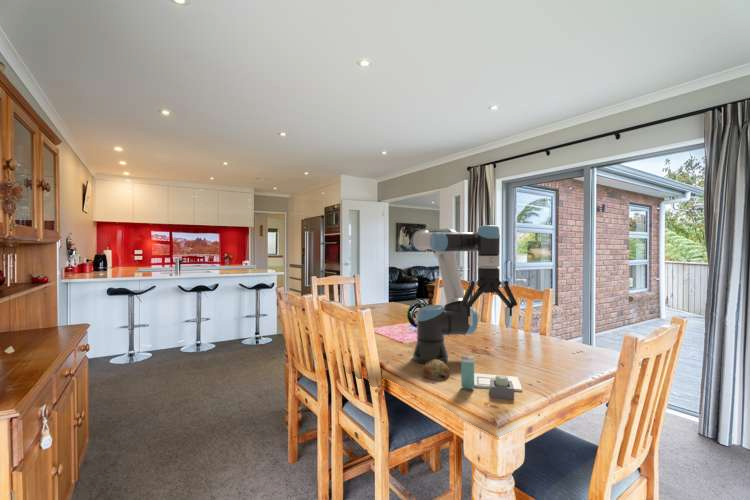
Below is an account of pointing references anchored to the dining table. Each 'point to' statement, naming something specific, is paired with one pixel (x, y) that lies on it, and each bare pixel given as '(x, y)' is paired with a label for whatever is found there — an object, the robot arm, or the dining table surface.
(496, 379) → the button
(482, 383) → the sheet
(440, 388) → the dining table surface
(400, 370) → the dining table surface
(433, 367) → the bread roll
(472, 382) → the white-capped teal capsule
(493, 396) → the button housing
